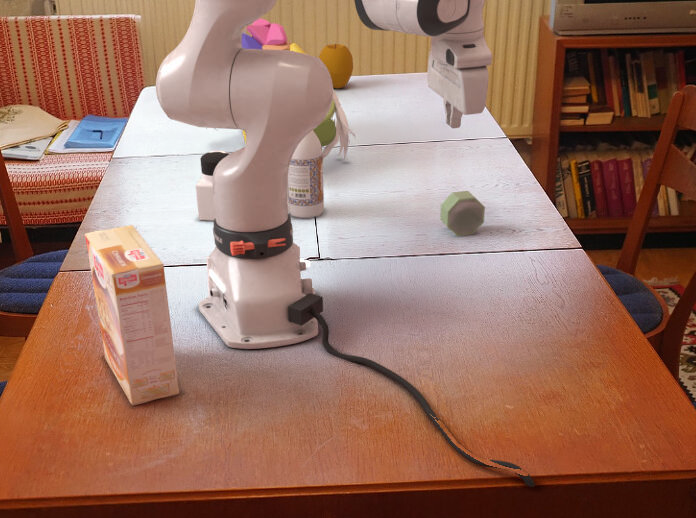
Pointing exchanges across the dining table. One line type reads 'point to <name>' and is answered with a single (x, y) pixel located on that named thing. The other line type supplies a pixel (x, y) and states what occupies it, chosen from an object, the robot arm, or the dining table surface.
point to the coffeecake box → (133, 313)
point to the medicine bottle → (207, 185)
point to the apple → (337, 63)
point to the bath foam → (306, 179)
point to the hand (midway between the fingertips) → (453, 125)
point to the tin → (462, 213)
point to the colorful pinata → (276, 39)
